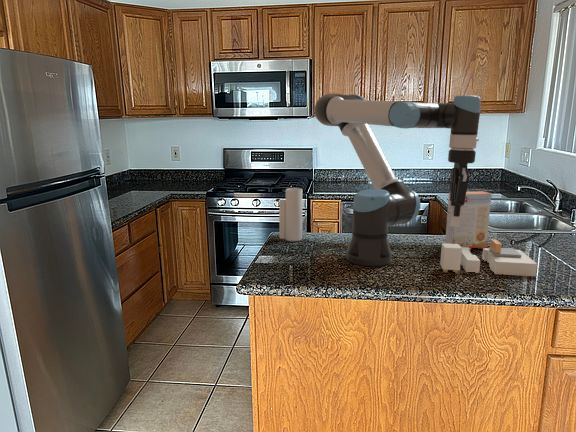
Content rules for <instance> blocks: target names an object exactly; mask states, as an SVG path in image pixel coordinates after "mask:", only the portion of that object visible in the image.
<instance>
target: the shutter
mask: <svg viewBox="0 0 576 432" xmlns="http://www.w3.org/2000/svg"><path fill="white" fill-rule="evenodd" d="M488 248H489V250H490V251H491V252H492V253H493V254H494V255H495V256H502V257H521V254H520V253H518V252H517V251H516V250H517V249H515V248H512V247H502V243H501V242H500V241H499V240H498V239H495V238H491V239H490V243H489V247H488Z"/></svg>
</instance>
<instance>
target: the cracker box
mask: <svg viewBox="0 0 576 432" xmlns="http://www.w3.org/2000/svg"><path fill="white" fill-rule="evenodd" d="M447 197H448V198H447V210H446V211H447V214H446V228H445V229H446V230H445V242H444V243H447V244H459V245H460V247H469V248H470V250H473V249H472V248H478V249H483V248H488V246H487V245H488V236H489V227H490V226H489V225H490V224H489V222H490V214H491V213H490V212H491V201H492V193H491V192H487V191H485V190H484V191H483V190H481V191H479V190H478V191H466V197H465V202H464V205H462V208H461V218H460V227H455V226H450V225H449V224H450V214H451V201H450V191H449V192H448V196H447Z"/></svg>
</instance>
